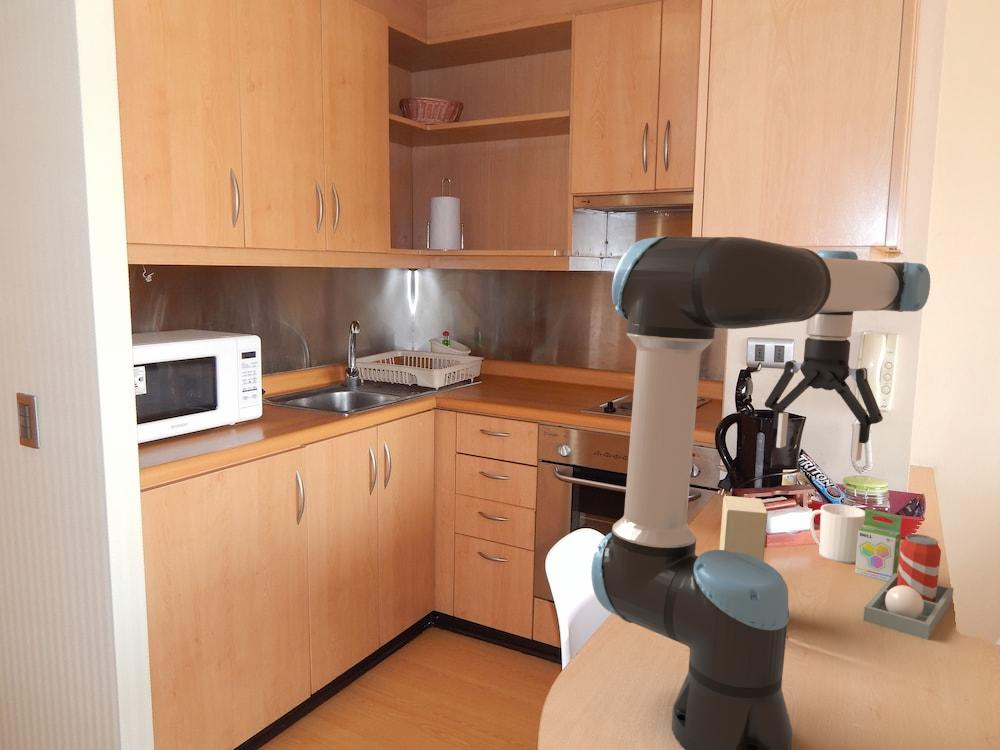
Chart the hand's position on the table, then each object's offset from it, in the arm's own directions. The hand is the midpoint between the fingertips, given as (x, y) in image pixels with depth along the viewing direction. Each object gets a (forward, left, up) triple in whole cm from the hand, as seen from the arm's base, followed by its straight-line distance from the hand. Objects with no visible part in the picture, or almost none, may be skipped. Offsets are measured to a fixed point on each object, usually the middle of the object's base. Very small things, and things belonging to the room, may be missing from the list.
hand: (817, 453), depth 143 cm
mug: (+24, +2, -28) cm, 37 cm away
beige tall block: (-19, +5, -28) cm, 34 cm away
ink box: (+17, -8, -28) cm, 33 cm away
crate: (+4, -17, -27) cm, 32 cm away
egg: (-1, -17, -27) cm, 31 cm away
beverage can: (+9, -17, -27) cm, 33 cm away
